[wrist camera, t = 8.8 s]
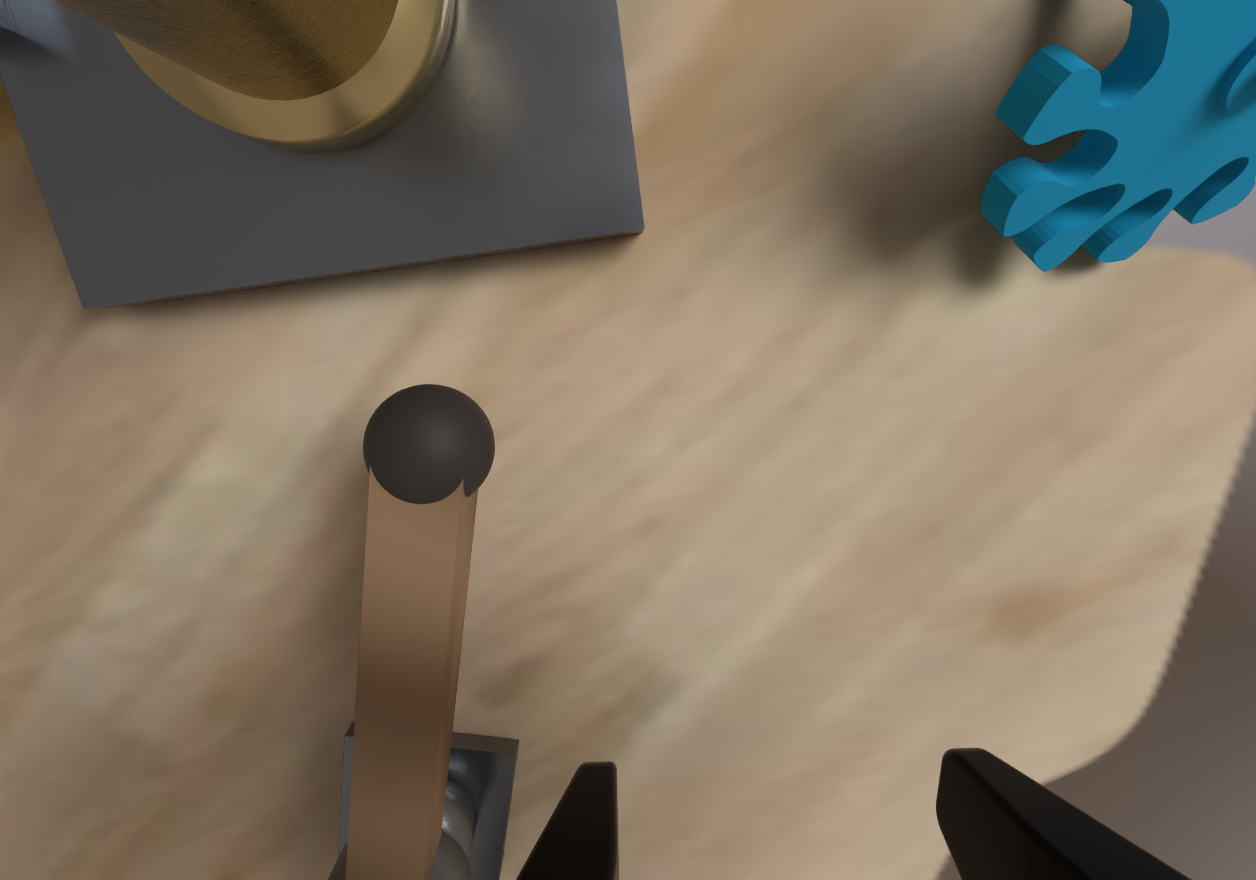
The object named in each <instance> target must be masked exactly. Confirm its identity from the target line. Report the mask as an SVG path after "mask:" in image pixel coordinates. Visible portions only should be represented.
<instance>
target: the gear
mask: <svg viewBox="0 0 1256 880" xmlns="http://www.w3.org/2000/svg"><path fill="white" fill-rule="evenodd" d="M1123 1H1125V2H1127V3H1128V4H1130V5H1132V18H1131V25H1130V32H1129V36H1128V39H1127V41H1126V44H1125V46H1124V47H1123V49H1122V50H1121V52H1120V53H1119V55H1118V56H1117V57H1116V58H1115V60H1114V61H1113V62H1112V63H1111V64H1110V65H1109V66H1108V67H1107V68H1106V69H1105V70H1103V71H1102V72H1101V73H1099V71H1098V70H1096V69H1095V68H1093V67H1092V66H1091V65H1089V64H1088V63H1087V62H1085V61H1084V60H1082V59H1081V58H1080V57H1078V56H1077V55H1075V54H1074V53H1073V52H1071V51H1070V50H1068V49H1067V48H1066V47H1064V46H1062V45H1057V44H1054V45H1049V46H1046V47H1044V48H1041V49H1040V50H1039V51H1038V52H1037V53H1036V54H1035V55H1034V56H1033V57H1032V59H1031V60H1030V61H1029V62H1028V63H1027V64H1026V66H1025V67H1024V68H1023V70H1022V71H1021V72H1020V74H1019V75H1018V76H1017V78H1016V79H1015V81H1014V82H1013V84H1012V86H1011V87H1010V89H1009V90H1008V92H1007V93H1006V95H1005V97H1004V99H1003V100H1002V102H1001V104H1000V105H999V107H998V109H997V111H996V112H995V114H996V116H997V117H998V119H1000V120H1001V121H1002V122H1003V123H1004V124H1005V125H1006V126H1008V127H1009V128H1010V129H1011V130H1012V131H1013V132H1014V133H1015V134H1017V135H1018V136H1019V137H1020V138H1021V139H1022V140H1023V141H1025V142H1026V143H1028V144H1030V145H1039V144H1043V143H1046V142H1048V141H1051V140H1053V139H1055V138H1057V137H1060V136H1062V135H1065V134H1068V133H1071V132H1074V131H1080V130H1086V131H1085V133H1084V134H1083V136H1082V137H1081V138H1080V140H1079V141H1078V142H1077V143H1076V144H1075V145H1074V146H1073V147H1072V148H1071V149H1070V150H1069V151H1068V152H1066V153H1065V154H1064V155H1062V156H1061V157H1059V158H1057V159H1055V160H1053V161H1051V162H1048V163H1040V162H1038V161H1036V160H1033V159H1031V158H1028V157H1019V158H1016V159H1013V160H1011V161H1009V162H1007V163H1005V164H1003V165H1002V166H1000V167H999V168H997V169H996V170H995V171H994V172H992V174H991V176H990V178H989V180H988V182H987V184H986V187H985V189H984V192H983V197H982V202H981V212H980V213H981V214H982V215H983V216H984V217H985V218H986V219H987V220H988V221H989V222H990V224H991V225H992V226H993V227H994V228H995V229H996V230H997V231H998V232H999V233H1000V234H1001V235H1002V236H1003V237H1007V236H1012V238H1013V241H1014V243H1015V244H1016V245H1017V246H1018V247H1019V248H1020V249H1021V250H1022V251H1023V252H1024V253H1025V254H1026V255H1027V256H1028V257H1029V258H1030V259H1031V260H1032V261H1033V263H1034V264H1035V265H1036V266H1037V267H1038V268H1039V269H1041V270H1042V271H1044V272H1046V271H1048V270H1050V269H1052V268H1054V267H1056V266H1057V265H1059V264H1060V263H1062V262H1063V261H1065V260H1066V259H1067V258H1068V257H1069V256H1071V255H1072V254H1073V253H1074V252H1075V251H1076V250H1077V249H1078V248H1079V247H1080V246H1081V245H1082V246H1083V247H1084V248H1085V249H1086V250H1087V251H1088V252H1089V253H1090V254H1091V255H1092V256H1093V257H1094V258H1095V259H1096V260H1098V261H1100V262H1115V261H1121V260H1126V259H1127V258H1129V257H1130V256H1131V255H1133V254H1134V253H1135V252H1137V251H1138V250H1139V249H1140V248H1141V247H1142V246H1143V245H1144V244H1145V243H1146V242H1147V241H1148V240H1149V238H1150V237H1151V235H1152V234H1153V232H1154V231H1155V229H1156V228H1157V226H1158V225H1159V224H1160V223H1161V221H1162V220H1163V219H1164V218H1165V217H1166V216H1167V215H1168V213H1169V212H1170V211H1171V210H1172V209H1174V210H1175V211H1176V212H1177V213H1178V214H1180V215H1181V216H1182V217H1183V218H1184V219H1186V220H1187V221H1188V222H1190V223H1191V224H1196V223H1200V222H1202V221H1205V220H1208V219H1210V218H1212V217H1214V216H1217V215H1219V214H1221V213H1223V212H1225V211H1227V210H1229V209H1231V208H1233V207H1235V206H1237V205H1238V204H1239V203H1240V202H1241V201H1242V200H1244V198H1245V197H1246V196H1247V195H1248V194H1249V193H1250V192H1251V190H1252V189H1253V187H1254V184H1255V177H1256V0H1123Z"/></svg>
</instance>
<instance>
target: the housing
mask: <svg viewBox="0 0 1256 880" xmlns="http://www.w3.org/2000/svg"><path fill="white" fill-rule="evenodd" d="M53 1H55V2H57V3H59V4H61V5H63V6H65V7H67V8H69V9H71V10H73V11H75V12H77V13H79V14H81V15H83V16H85V17H87V18H88V19H90V20H92V21H94V22H96V23H98V24H100V25H102V26H104V27H106V28H108V29H110V30H112V31H113V32H114V33H115V35H116V36H117V38H118V39H119V41H120V42H121V44H122V45H123V47H124V48H125V50H126V51H127V52H128V54H129V55H130V56H131V57H132V58H133V60H134V61H135V62H136V63H137V64H138V65H139V67H140V68H141V69H142V70H143V71H144V72H145V74H147V75H148V76H149V77H150V78H151V79H152V80H153V81H154V82H155V83H156V84H157V85H158V86H159V87H160V88H161V89H162V90H163V91H165V92H166V93H167V94H169V95H170V96H171V97H173V98H174V99H175V100H176V101H178V102H179V103H180V104H182V105H183V106H184V107H186V108H188V109H190V110H191V111H193V112H195V113H196V114H198V115H200V116H201V117H203V118H205V119H207V120H209V121H211V122H214V123H216V124H218V125H220V126H223V127H225V128H227V129H230V130H232V131H235V132H237V133H239V134H242V135H244V136H247V137H249V138H252V139H254V140H257V141H259V142H262V143H265V144H269V145H272V146H275V147H279V148H283V149H289V150H295V151H302V152H325V151H333V150H341V149H345V148H349V147H352V146H356V145H360V144H362V143H364V142H367V141H369V140H371V139H373V138H376V137H378V136H379V135H381V134H383V133H384V132H386V131H387V130H389V129H391V128H392V127H394V126H395V125H396V124H397V123H399V122H400V121H401V120H402V119H403V118H404V117H406V116H407V115H408V114H409V113H410V112H411V111H412V110H413V108H414V107H415V106H416V105H417V104H418V103H419V102H420V100H421V99H422V98H423V97H424V95H425V93H426V92H427V90H428V89H429V87H430V86H431V84H432V83H433V81H434V79H435V77H436V75H437V73H438V71H439V69H440V66H441V64H442V62H443V59H444V56H445V53H446V50H447V47H448V44H449V41H450V36H451V31H452V25H453V20H454V9H455V0H53Z"/></svg>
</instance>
